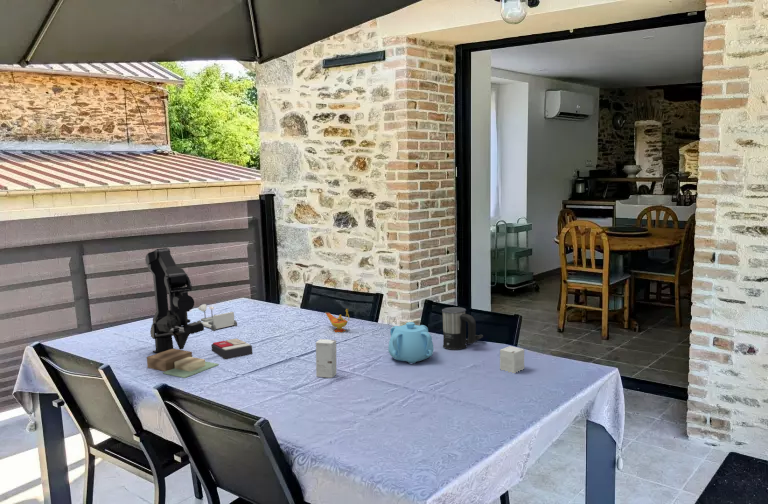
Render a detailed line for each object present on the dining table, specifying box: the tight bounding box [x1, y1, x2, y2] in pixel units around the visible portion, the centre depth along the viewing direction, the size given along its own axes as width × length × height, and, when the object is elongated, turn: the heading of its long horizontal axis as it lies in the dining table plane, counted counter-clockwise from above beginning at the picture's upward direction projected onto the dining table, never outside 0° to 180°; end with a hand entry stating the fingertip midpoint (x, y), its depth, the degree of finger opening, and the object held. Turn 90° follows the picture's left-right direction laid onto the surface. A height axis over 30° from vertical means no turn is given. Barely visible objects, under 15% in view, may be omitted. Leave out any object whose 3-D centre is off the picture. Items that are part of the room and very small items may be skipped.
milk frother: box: [441, 306, 484, 351], centre depth 245 cm, size 14×16×15 cm
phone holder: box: [196, 303, 238, 332], centre depth 287 cm, size 18×10×12 cm
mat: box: [162, 360, 220, 379], centre depth 225 cm, size 11×16×1 cm
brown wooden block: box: [146, 348, 193, 372], centre depth 230 cm, size 10×12×4 cm
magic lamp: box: [324, 308, 350, 333], centre depth 273 cm, size 7×18×11 cm, turn 40°
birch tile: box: [174, 356, 206, 371], centre depth 226 cm, size 8×7×2 cm
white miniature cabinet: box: [315, 338, 337, 379], centre depth 213 cm, size 6×4×12 cm
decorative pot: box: [388, 321, 434, 364], centre depth 230 cm, size 16×16×14 cm
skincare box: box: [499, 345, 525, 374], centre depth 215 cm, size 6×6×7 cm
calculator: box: [211, 338, 253, 360], centre depth 245 cm, size 11×4×15 cm
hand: (181, 349), depth 226 cm, fingers closed
